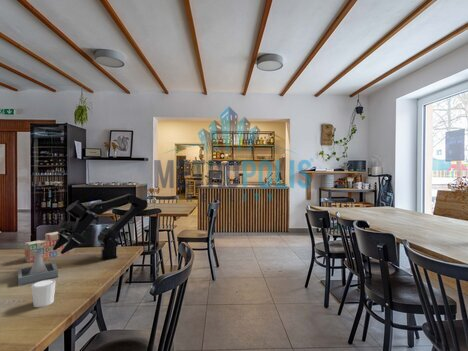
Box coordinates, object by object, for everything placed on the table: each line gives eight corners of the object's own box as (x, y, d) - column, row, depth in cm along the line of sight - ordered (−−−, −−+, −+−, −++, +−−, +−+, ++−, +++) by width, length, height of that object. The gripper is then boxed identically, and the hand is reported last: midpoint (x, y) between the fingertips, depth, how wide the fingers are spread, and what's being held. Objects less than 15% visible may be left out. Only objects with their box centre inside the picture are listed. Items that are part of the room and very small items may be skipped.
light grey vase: (29, 279, 107) (29, 256, 107) (25, 275, 112) (25, 252, 112) (50, 274, 113) (50, 252, 113) (46, 270, 118) (45, 248, 117)
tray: (54, 268, 122) (54, 262, 122) (57, 277, 112) (57, 270, 112) (17, 275, 113) (17, 269, 113) (18, 285, 103) (18, 278, 103)
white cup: (39, 298, 93) (39, 279, 93) (60, 297, 93) (59, 278, 93) (26, 308, 86) (26, 287, 86) (47, 307, 86) (47, 287, 86)
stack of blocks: (29, 263, 129) (29, 238, 129) (24, 260, 133) (24, 236, 133) (74, 252, 147) (74, 230, 147) (69, 250, 151) (69, 229, 151)
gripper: (62, 212, 128) (35, 238, 119) (78, 215, 117) (50, 245, 108) (79, 225, 134) (55, 251, 126) (96, 230, 123) (71, 259, 114)
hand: (57, 251), depth 118 cm, fingers open, 9 cm apart
